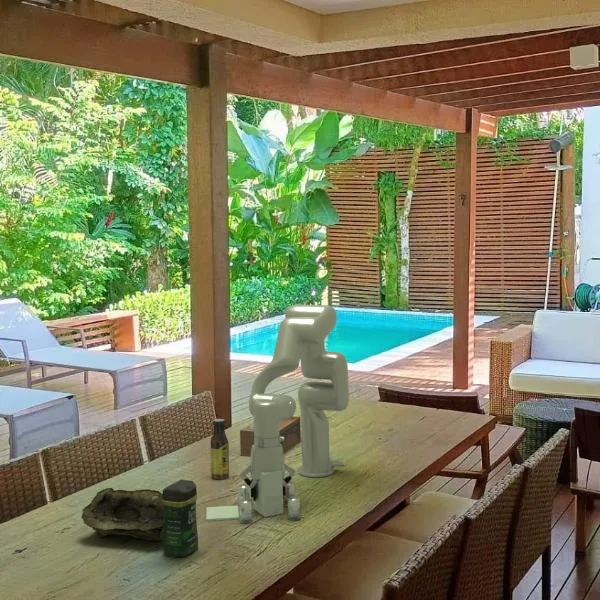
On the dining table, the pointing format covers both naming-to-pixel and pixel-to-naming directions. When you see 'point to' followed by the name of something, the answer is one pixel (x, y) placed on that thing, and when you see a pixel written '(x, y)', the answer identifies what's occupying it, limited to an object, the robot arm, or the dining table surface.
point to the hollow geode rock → (126, 513)
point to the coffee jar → (180, 518)
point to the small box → (269, 493)
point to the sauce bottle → (219, 451)
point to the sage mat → (222, 513)
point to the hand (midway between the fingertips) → (268, 498)
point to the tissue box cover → (286, 429)
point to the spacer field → (247, 503)
